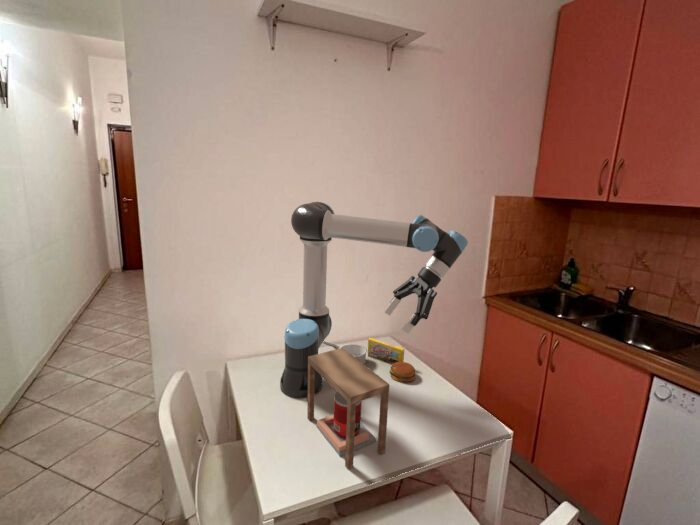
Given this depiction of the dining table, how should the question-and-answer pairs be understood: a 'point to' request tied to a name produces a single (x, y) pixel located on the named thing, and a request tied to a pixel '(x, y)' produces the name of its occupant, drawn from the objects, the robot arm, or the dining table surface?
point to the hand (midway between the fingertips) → (395, 322)
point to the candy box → (385, 351)
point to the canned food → (344, 416)
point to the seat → (338, 442)
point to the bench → (349, 391)
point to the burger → (402, 372)
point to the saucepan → (352, 350)
